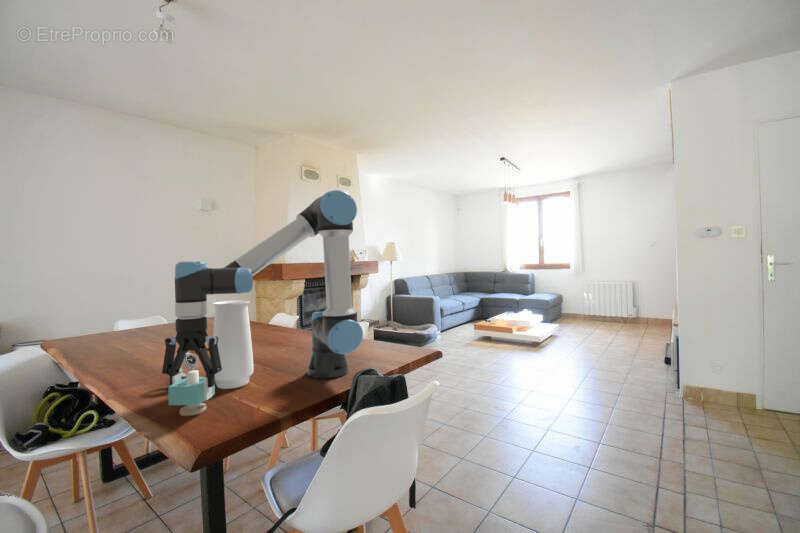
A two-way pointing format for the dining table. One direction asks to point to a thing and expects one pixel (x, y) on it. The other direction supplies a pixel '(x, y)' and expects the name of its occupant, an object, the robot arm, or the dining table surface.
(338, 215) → the robot arm
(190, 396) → the teal storage bin
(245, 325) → the vase
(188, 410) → the post
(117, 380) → the dining table surface
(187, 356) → the watch
